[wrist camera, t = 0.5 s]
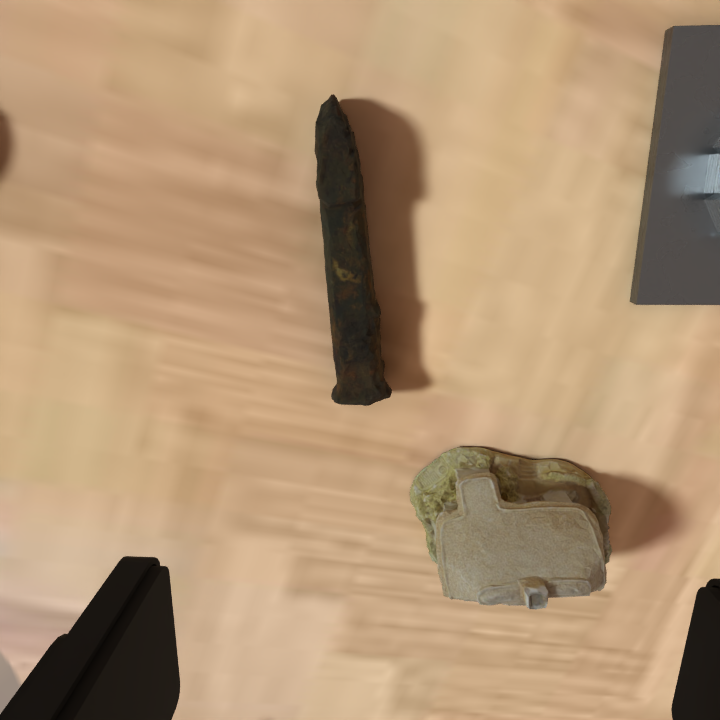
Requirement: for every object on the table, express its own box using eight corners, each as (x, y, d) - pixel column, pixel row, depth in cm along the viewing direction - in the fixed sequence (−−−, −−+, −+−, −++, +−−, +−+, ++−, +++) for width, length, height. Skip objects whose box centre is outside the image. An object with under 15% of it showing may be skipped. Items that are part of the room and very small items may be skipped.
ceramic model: (417, 578, 45) (426, 684, 35) (405, 449, 41) (412, 526, 32) (600, 566, 44) (661, 672, 34) (602, 433, 40) (670, 508, 31)
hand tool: (390, 387, 40) (391, 412, 36) (334, 390, 40) (328, 414, 36) (380, 98, 35) (380, 84, 30) (315, 102, 35) (306, 88, 31)
